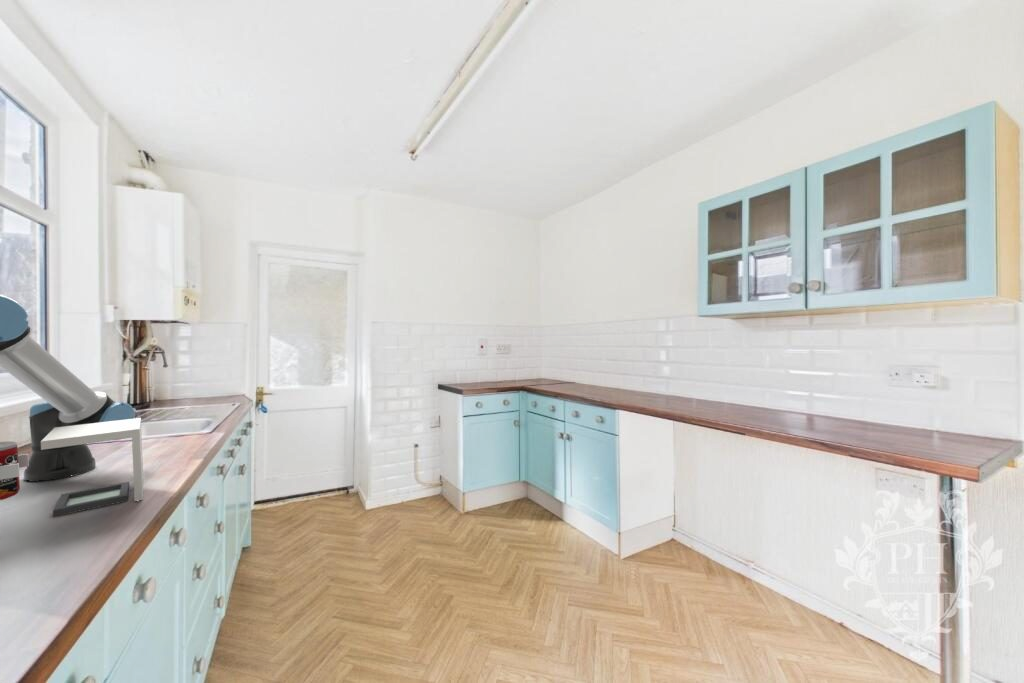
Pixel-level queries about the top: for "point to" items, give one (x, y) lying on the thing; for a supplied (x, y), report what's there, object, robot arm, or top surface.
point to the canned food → (5, 456)
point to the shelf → (100, 434)
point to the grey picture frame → (91, 498)
